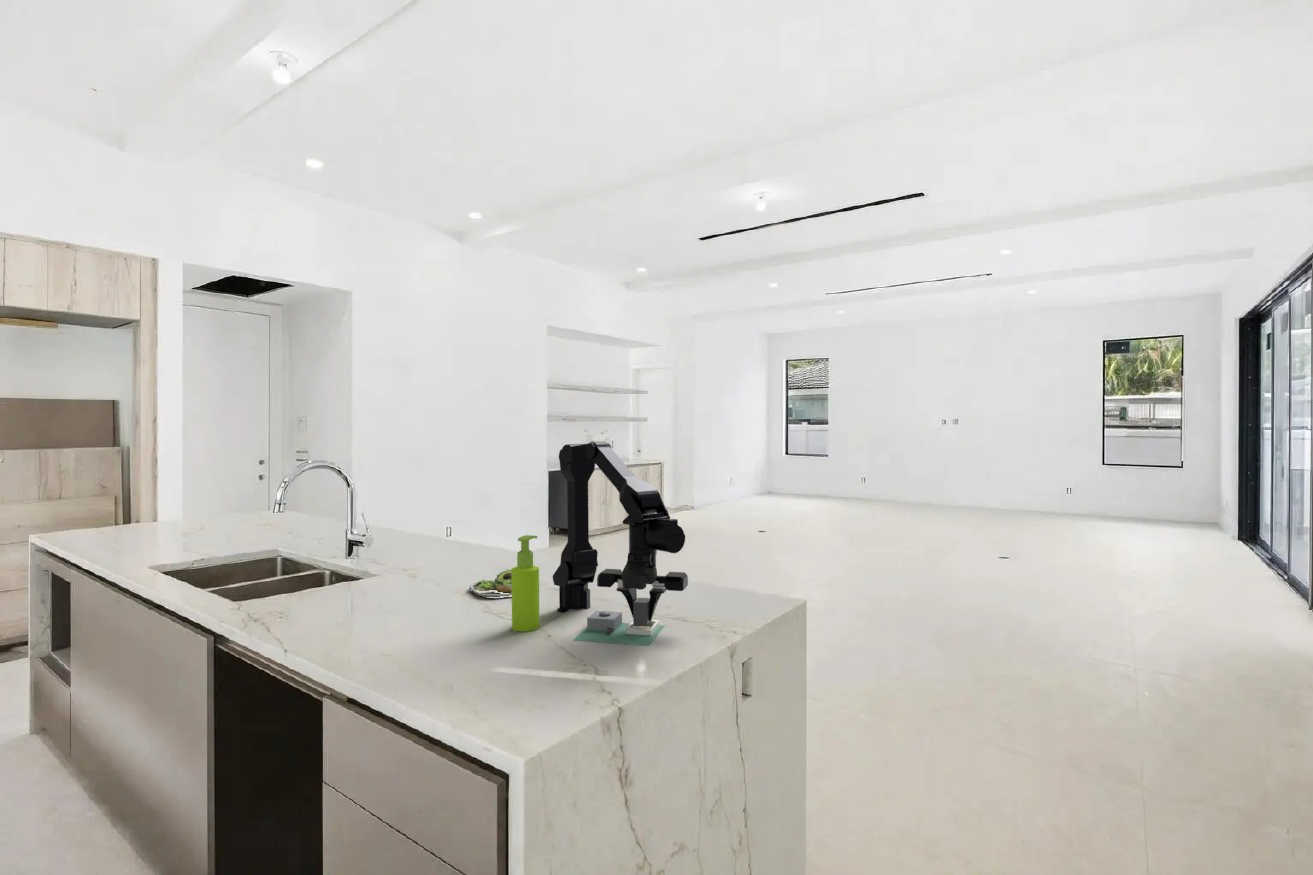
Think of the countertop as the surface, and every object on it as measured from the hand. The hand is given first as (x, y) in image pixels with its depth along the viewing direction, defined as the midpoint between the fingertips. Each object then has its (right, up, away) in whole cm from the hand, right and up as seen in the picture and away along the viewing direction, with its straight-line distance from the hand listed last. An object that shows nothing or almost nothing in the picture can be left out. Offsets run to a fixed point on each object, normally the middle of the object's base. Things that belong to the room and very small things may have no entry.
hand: (642, 619), depth 149 cm
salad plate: (-38, -3, +39) cm, 54 cm away
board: (-5, -3, -2) cm, 6 cm away
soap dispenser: (-26, -3, +5) cm, 26 cm away
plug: (0, -1, 0) cm, 1 cm away
